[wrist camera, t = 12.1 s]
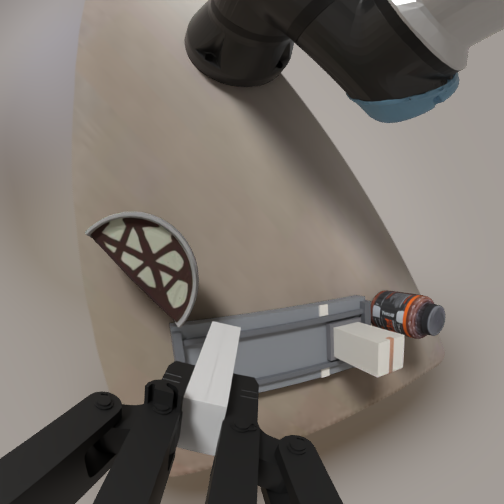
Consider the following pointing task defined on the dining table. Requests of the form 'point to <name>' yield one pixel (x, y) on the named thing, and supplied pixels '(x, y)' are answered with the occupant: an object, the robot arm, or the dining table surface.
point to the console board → (277, 341)
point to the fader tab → (365, 346)
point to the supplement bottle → (407, 314)
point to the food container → (152, 259)
